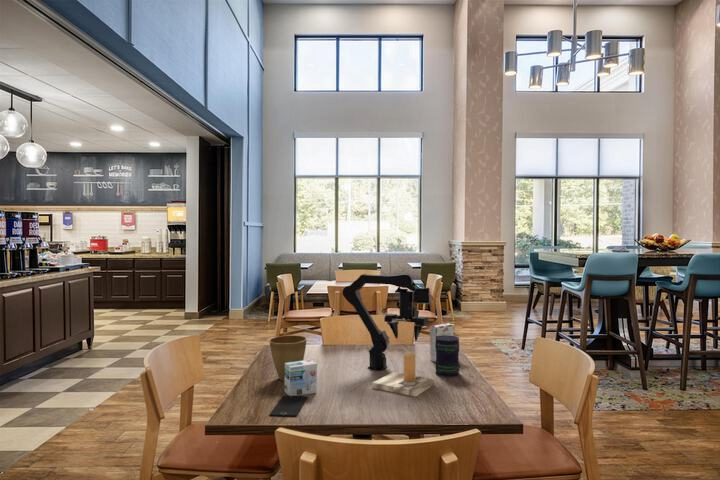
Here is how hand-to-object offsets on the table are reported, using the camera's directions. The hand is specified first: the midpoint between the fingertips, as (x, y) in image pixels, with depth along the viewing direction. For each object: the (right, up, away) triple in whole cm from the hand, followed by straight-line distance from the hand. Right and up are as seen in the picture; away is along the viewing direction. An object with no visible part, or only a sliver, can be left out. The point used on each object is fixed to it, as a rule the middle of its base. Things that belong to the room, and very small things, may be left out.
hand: (406, 339), depth 196 cm
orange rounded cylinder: (-1, -13, -24) cm, 27 cm away
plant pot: (-49, -13, -11) cm, 52 cm away
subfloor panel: (-3, -13, -22) cm, 25 cm away
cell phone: (-44, -14, -42) cm, 62 cm away
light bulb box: (-42, -14, -28) cm, 52 cm away
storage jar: (+16, -13, -6) cm, 22 cm away
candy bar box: (+18, -13, +16) cm, 27 cm away
